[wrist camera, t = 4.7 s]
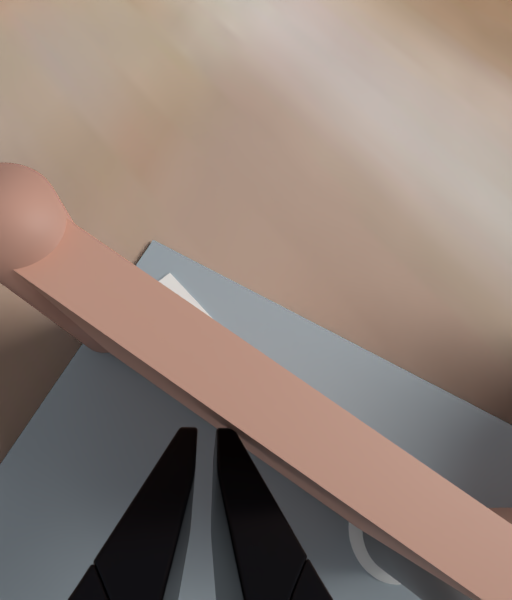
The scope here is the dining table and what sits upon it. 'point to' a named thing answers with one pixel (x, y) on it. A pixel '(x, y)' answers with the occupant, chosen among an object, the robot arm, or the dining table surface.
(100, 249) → the fence panel
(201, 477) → the board
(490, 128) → the dining table surface
